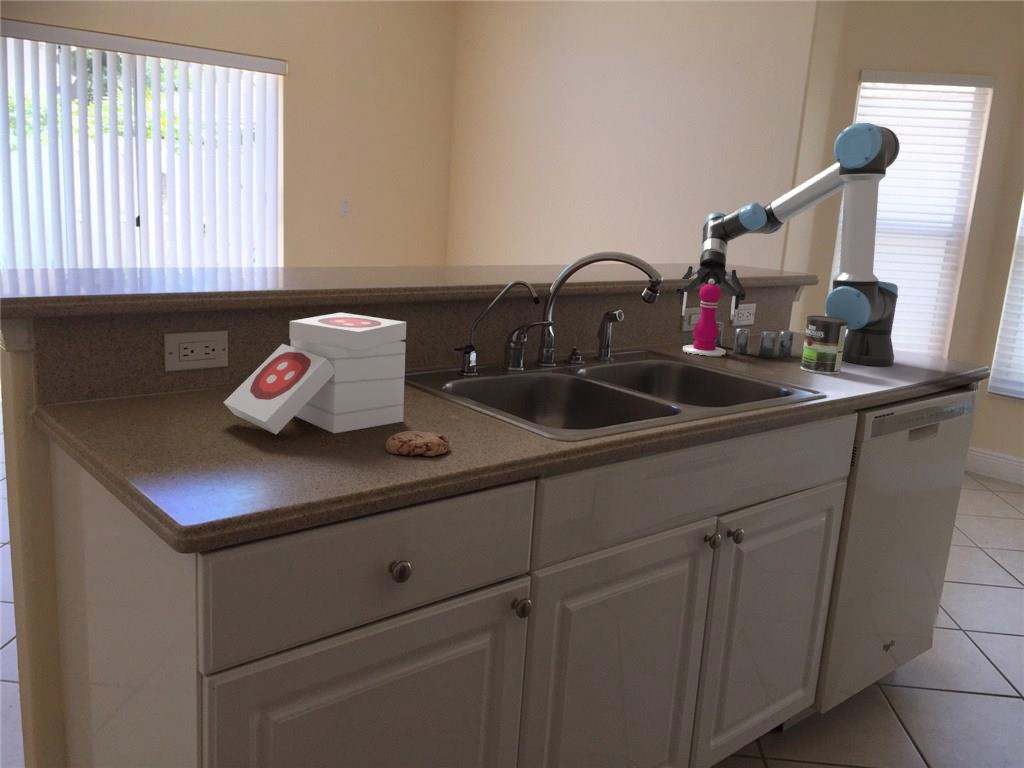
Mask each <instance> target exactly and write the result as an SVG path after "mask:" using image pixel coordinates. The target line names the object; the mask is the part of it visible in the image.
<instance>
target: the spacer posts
mask: <svg viewBox="0 0 1024 768" xmlns="http://www.w3.org/2000/svg"><path fill="white" fill-rule="evenodd" d="M716 323H717V326H718V329H719V337H718V338H717V339H716V340H715V342H714V343H716V347H718V348H722V343H723V335H724V327H725V326H724V325H725V323H724V322H720V321H716ZM760 333H761V334H760V343H759V350H758V358H759V357H760V358H762V359H763V358H764V359H774V353H775V344H776V338H777V332H773V331H769V330H768V331H767V330H766V331H764V330H763V331H761V332H760ZM734 334H735V335H734V341H733V342H734V343H733V351H732V353H733V354H734V353H735V355H741V356H743V355H745V356H746V355H748V352H749V343H750V336H751V329H748V328H741V327H737V328H735V332H734ZM778 335H779V336H778V342H777V344H778V345H777V350H776V351H777V353H776V356H778V357H783V358H791V357H792V353H793V345H794V339H795V338H794V337H795V331H791V330H779V334H778Z"/></svg>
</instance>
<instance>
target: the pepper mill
mask: <svg viewBox="0 0 1024 768" xmlns="http://www.w3.org/2000/svg"><path fill="white" fill-rule="evenodd" d="M708 283H709V284H704V285H703V286H702V287H700V290H699V297H700V298H701V299H700V300H701V301H700V304H699V306H700V307H701V308H700V309H701V311H700V316H699V318H698V320H697V322H696V324H695V325H694V328H693V331H692V335H693V337H694V338H695V340H694V341H693V345H694V346H693V348H695V349H698V350H705V351H713V350H715V349H716V343H714V342H715V340H716V339H717V338H718V337H719V329H718V326H717V323H716V322H717V319H716V313H717V308H718V307H719V302H718V301H719V300H720V299H721V297H722V291H721V287H720V286H719V285H717V284H716V285H713V284H714V283H715V280H714V279H710V280H709V281H708Z"/></svg>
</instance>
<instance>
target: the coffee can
mask: <svg viewBox="0 0 1024 768" xmlns="http://www.w3.org/2000/svg"><path fill="white" fill-rule="evenodd" d="M847 324H848V321H847V320H845V319H841V318H836V317H829V316H827V315H808V316H806V327H805V334H804V340H803V348H802V355H801V362H800V367H799V368H800V369H801V370H802V371H804V372H807V373H812V374H819V375H827V376H828V375H829V376H832V375H835V376H836V375H839V374H840V373H841V365H842V361H843V360H842V354H843V347H844V341H845V336H846V334H847V329H846V328H847Z"/></svg>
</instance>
